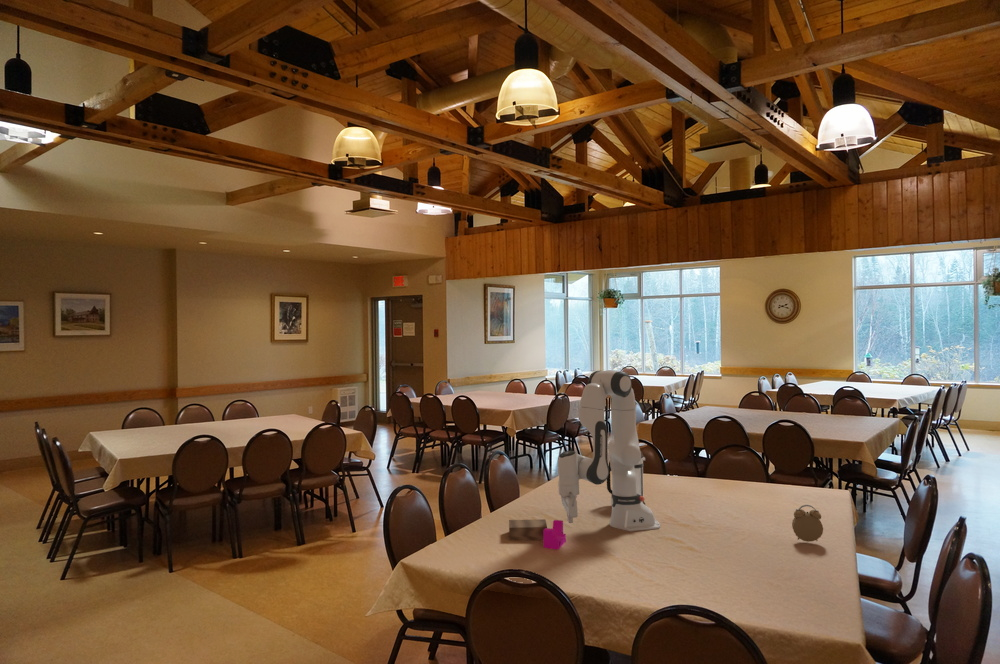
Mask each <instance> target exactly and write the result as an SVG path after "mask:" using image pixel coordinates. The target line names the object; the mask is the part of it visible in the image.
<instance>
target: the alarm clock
mask: <svg viewBox="0 0 1000 664" xmlns="http://www.w3.org/2000/svg"><path fill="white" fill-rule="evenodd" d="M804 507H809V508H812V509H811V510H809V511H805V510H804V509H802V508H804ZM793 516H794V518H793V519H792V522H791V528H792V530H793V533H794V535H795V536H796V537H797V540H802V541H803V542H809V543H810V542H818V540H819V539H820V538H821V537H822V535H823V533H824V527H823V524H822V521H821V519H822V515H821V513H820V511H819V510H817V509H816V508H815V507H813V505H810V504H803V505H800V507H799V508H798V509H797V508H796V509H795V511H793Z"/></svg>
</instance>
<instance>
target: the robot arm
mask: <svg viewBox="0 0 1000 664" xmlns="http://www.w3.org/2000/svg"><path fill="white" fill-rule="evenodd" d="M632 383H633V382H632V378H631V376H630V375H629V374H628V373H627V372H624V371H621V370H619V371H618V370H613V369H611V370H609V369H608V370H596V371H593V372H592V373H591V374H590V375H589V377H588V380H587V384H586V385H585V386H584V388H583V390H582V394H581V398H580V404H579V408H578V409H579V410H578V420H579V422H580V424H581V426H582V427H583V428H585V429H586V430H587V431H588V432H589V434H590V435H591V437H592V441H593V442H592V444H593V446H592V450H593V451H592V458H591V457H587V456H584V455H581V454H578V452H576V451H574V450H566V451H563V452H561V453H559V455H558V460H557V475H558V482H557V483H558V484H557V485H558V486H557V487H558V495H559V496H560V499H561V505H562V506H563V508H564V510H565V512H566V517H567V521H568V523H569V524H573V523H574V518H578V515H579V514H578V501H577V497H578V495H580V480H585V481H588V482H590V483H591V484H594V485H602V484H603V483H605V482H607V478H608V475H609V465H610V466H611V471H610V473H611V481H612V482H611V483H612V484H611V485H612V487H611V490H612V494H611V495H610V496H611V497H610V503H611V506H612V507H611V512H610V513H611V515H610V520H609V526H610V527H612V528H615V529H619V530H623V531H626V532H637V531H646V530H647V531H649V530H658V529H660V528H661V523H660V522H659V521H658V520H657V519H656V518H655V517H656V516H655V515H654V512H653V511H652V508H650V507H649V506H647V505H646V504H645V505H644V504H643V502H641V501H644V502H645V497H644V495H643V496H641V495H639V494H637V476H636V473H635V468H634V466H635V465H636V464H638V463H639V461H640V459H641V452H642V451H641V448H640V443H639V442H640V441H639V437H638V436H639V435H638V432H637V407H636V404H637V403H636V398H635V397H636V396H635V393H634V392H635V391H634V389H633V388H632V387H633V384H632ZM608 396H610V398H611V401H610V405H611V406H610V417H611V418H610V419H611V421H610V422H611V423H610V425H611V430H612V434H613V438H611V440H610V441H609V440H608V434H609V433H608V426H607V425H606V420H605V412H606V411H605V410H606V399H607V397H608ZM608 441H609V442H608ZM608 456H609V461H608ZM609 463H610V464H609Z"/></svg>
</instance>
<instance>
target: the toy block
mask: <svg viewBox="0 0 1000 664" xmlns="http://www.w3.org/2000/svg"><path fill="white" fill-rule="evenodd" d="M566 539H567V536H566V533H564V520H561V519H560V520H559V519H554V520H553V521H552V528H548V527H547V528H545V529H544V530H543V540H542V541H543V548H544V549H551V550H560V548H561V547H563V546H564V544H565V543H566V542H567V541H566Z"/></svg>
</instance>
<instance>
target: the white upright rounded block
mask: <svg viewBox="0 0 1000 664" xmlns="http://www.w3.org/2000/svg"><path fill="white" fill-rule="evenodd" d="M646 460H647V459H646V457H645V456H644V455H643V452H642V451H641V459H640V461H639V463H638V464H636V465H635V466H634V468H635V473H636V476H637V494H639V495H641V496H643V497H644V461H646ZM608 466H609V475H608V478H607V479H606V489H607V492H609V494H610V495H612V487H611V485H612V484H611V483H612V482H611V466H610V464H608ZM641 502H642V503H643V504H644V505H646V503H645V500H644V501H641Z"/></svg>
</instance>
